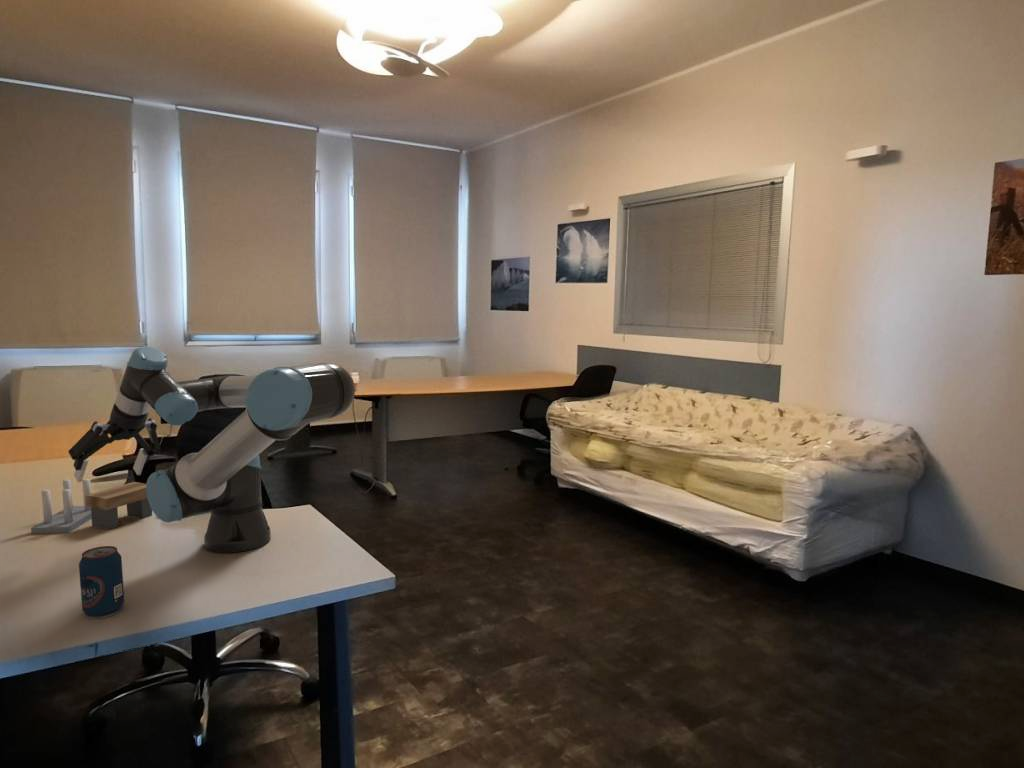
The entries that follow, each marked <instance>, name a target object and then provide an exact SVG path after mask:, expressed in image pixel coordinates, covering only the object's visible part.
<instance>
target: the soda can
mask: <svg viewBox="0 0 1024 768" xmlns="http://www.w3.org/2000/svg"><path fill="white" fill-rule="evenodd" d="M122 561H123V560H122V554H120V553H119V551H118V548H117V546H111V545H104V546H96V547H92V548H90V549H87V550H85V551H83V552H82V553H81V559H80V560H79V563H78V571H79V574H78V575H79V585H80V597H81V610H82V612H83V613H84V614H85V615H86V616H87V617H88V618H90V619H104V618H107V617H110V616H113V615H116V614H117V613H119V612H120V611H121V610H122V608H123V605H124V604H125V592H124V591H125V589H124V588H125V587H124V579H123V578H124V574H123V562H122Z"/></svg>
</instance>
